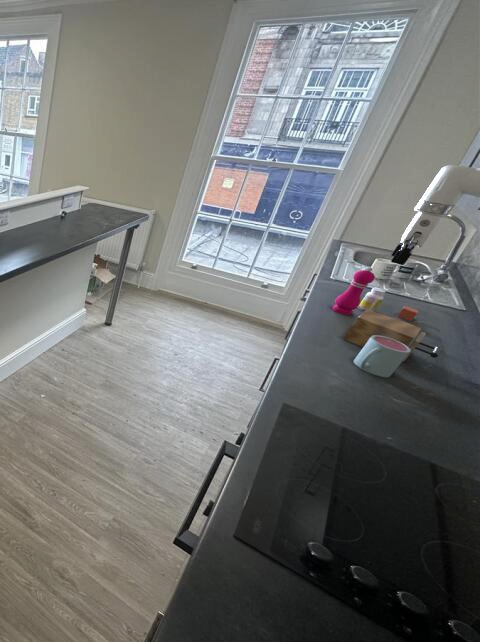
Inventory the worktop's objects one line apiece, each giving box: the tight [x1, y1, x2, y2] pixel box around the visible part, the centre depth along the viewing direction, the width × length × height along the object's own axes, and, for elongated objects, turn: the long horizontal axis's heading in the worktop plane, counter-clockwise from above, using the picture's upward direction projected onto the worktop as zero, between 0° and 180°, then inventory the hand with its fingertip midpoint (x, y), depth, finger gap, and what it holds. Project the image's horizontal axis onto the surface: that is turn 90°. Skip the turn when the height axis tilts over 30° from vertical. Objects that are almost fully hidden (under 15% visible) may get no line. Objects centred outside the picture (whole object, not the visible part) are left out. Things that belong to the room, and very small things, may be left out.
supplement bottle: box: [358, 287, 387, 312], centre depth 164 cm, size 5×5×10 cm
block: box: [396, 305, 420, 322], centre depth 162 cm, size 4×4×4 cm
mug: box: [353, 335, 411, 378], centre depth 124 cm, size 14×9×10 cm
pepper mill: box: [331, 266, 376, 316], centre depth 158 cm, size 7×7×20 cm
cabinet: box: [343, 309, 422, 348], centre depth 139 cm, size 15×13×10 cm
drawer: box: [402, 331, 443, 363], centre depth 136 cm, size 19×11×8 cm, turn 36°
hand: (396, 260), depth 131 cm, fingers open, 9 cm apart
